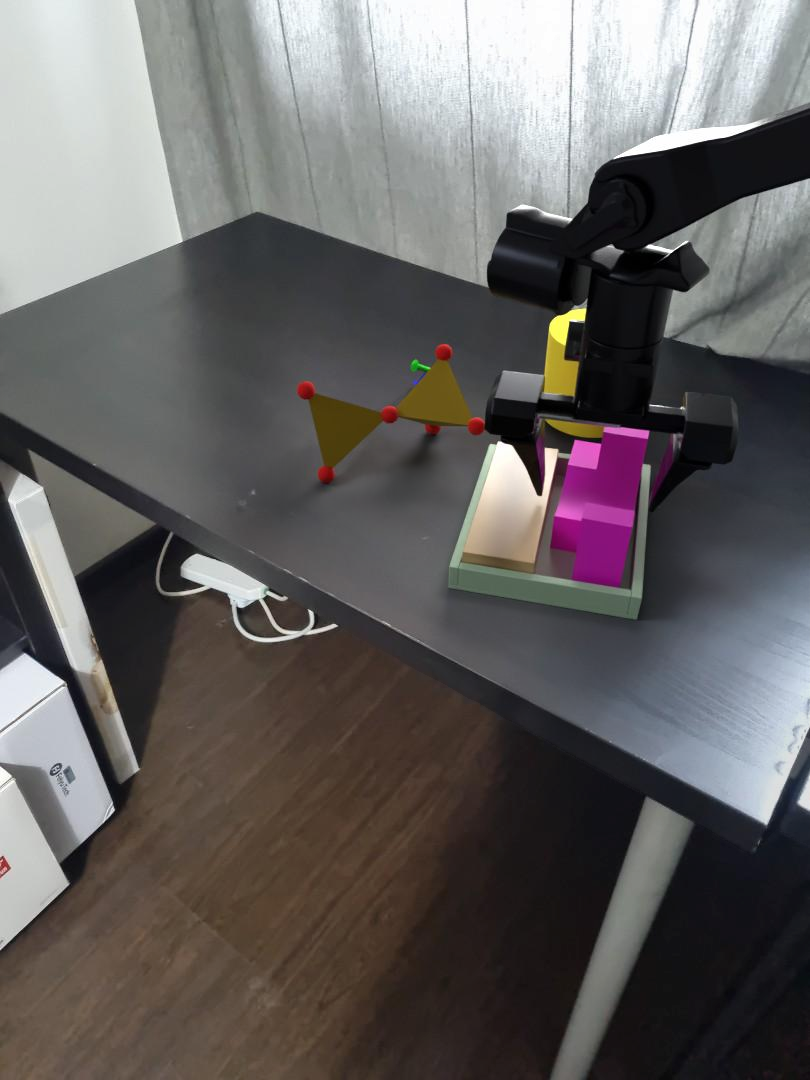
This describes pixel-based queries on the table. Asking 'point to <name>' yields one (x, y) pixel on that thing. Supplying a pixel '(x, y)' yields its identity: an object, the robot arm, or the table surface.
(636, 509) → the frame
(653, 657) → the table surface
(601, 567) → the toy block
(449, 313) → the table surface
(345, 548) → the table surface
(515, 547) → the back pad
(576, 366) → the yellow hollow cylinder
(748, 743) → the table surface
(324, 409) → the molecule model
